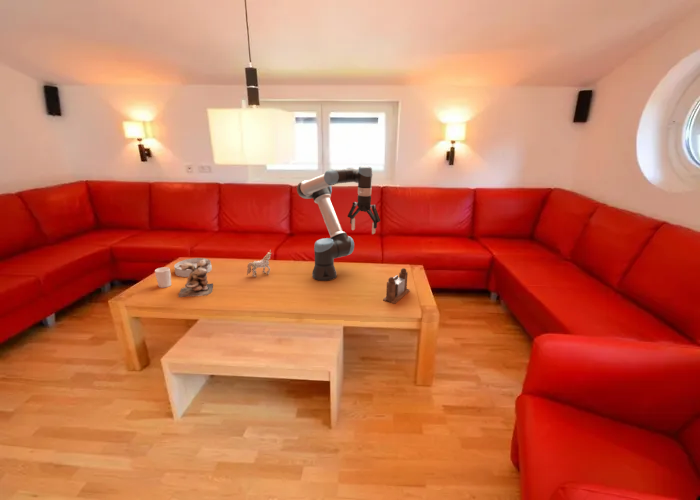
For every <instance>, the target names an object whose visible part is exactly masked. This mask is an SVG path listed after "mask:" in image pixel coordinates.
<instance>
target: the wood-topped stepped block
mask: <svg viewBox="0 0 700 500" xmlns="http://www.w3.org/2000/svg"><path fill="white" fill-rule="evenodd" d="M393 278H394V281H395V282H396V288H395V298H398V297H399V296H400V295H401V294H403V293H404V286H405V279H403V278H399V274H396V275H395V276H393Z"/></svg>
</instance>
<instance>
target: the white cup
mask: <svg viewBox="0 0 700 500" xmlns="http://www.w3.org/2000/svg"><path fill="white" fill-rule="evenodd" d="M154 273H155V274H154V275H155V278H156V283H157V286H158V288H160V289H161V288H163V289H164V288H168V287H170V286H172V274H171V268H170V267H167V266H164V267H163V266H162V267H158V268H156V269H155V270H154Z"/></svg>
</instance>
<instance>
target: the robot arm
mask: <svg viewBox="0 0 700 500" xmlns="http://www.w3.org/2000/svg"><path fill="white" fill-rule="evenodd" d="M346 183H357V194H358V195H357V201H354V202H352V205H351V207H350V210H349V212H348V214H347V218H349V219H350V226H351V230H352V231H354V230H355V229H356V218H355V217H356V216H357V215H358V214H359V213H360V212H364V213H366V214H368V216H369V217H370V219H371V220H372V223H371V224H372V225H371V235H374V234H376V229H377V228H378V223H379V222H381V218H380V216H379V213H378V209H377V206H376V205H377V204H371V202H372V186H373V185H372V184H373V168H372V167H371V166H365V165H364V166H362V165H361V166H359V167H358V168H355V167H346V168H343V169H330V170H326V171H325V173H324V174H321V175H319V176H316V177H313V178H311V179H305V180H303V181H300V182H299V183H298V184H297V187H296V192H297V194H298V196H299V197H301V198H302V199H305V200H308V199H309V200H311V199H313V202H314V203H315V204H317V205H318V208H319V211H320V214H321V215H322V218H323V221H324V225H325V226H326V229H327V231H328V234H329V236H330V237H326V238H325V237H324V238H323V237H322V238H320V239H317V240H316V241H315V242H314V246H313V247H314V248H313V251H314V267H313V270H312V273H311V275H312V278H313V279H314V280H316V281H320V282H321V281H324V282H327V281H331V280H334V279H336V278H337V275H338V274H337V273H338V272H337V270H336V267H335V263H334V262H335V260H334V259H338V258H343V257H347V256H349V255H351V254H352V253H353V252H354V250H355V242H354V239H353V238H352V237H351V236H349V235H348V234H347V232H345V231H343V228H342V225H341V224H340V220H339V218H338V216H337V214H336V211H335V208H334V206H333V204H332V201H331V197H332V192H333V188H332V186H335V185H338V184H346ZM356 208H357V209H356Z"/></svg>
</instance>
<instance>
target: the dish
mask: <svg viewBox="0 0 700 500" xmlns="http://www.w3.org/2000/svg"><path fill="white" fill-rule="evenodd" d="M204 259H205V260H208V261H207V262H206V263H208V266H207V268H208V269H207V274H208V273H210V272H211V271H212V270H213V268H212V263H211V260H210V259H209V258H205V257H195V258H192V257H191V258H186V259H183V260H180V261H178V262H176V263H175V264H174V274H175V276H178V277H183V278H188V277H189V275H190V273H191V272H192V270H190V269H187V270H182V269H181V267H179V265H180V264H183V263H191V264H193V265H194V266H195V268H196V267H197V263H198V262H199V261H201V260H204Z"/></svg>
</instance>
